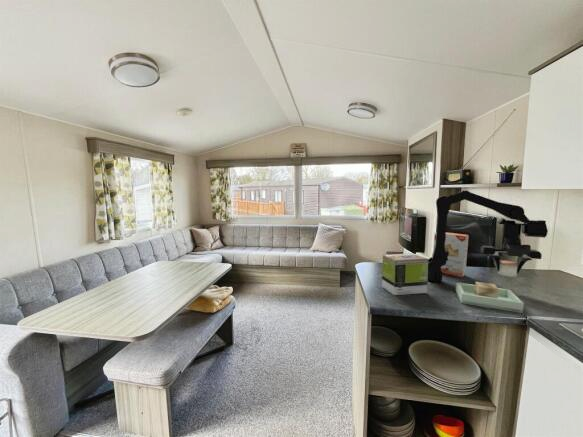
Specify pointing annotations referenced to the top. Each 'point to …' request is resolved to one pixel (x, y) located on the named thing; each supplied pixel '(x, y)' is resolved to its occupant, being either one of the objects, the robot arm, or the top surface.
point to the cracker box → (455, 254)
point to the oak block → (486, 290)
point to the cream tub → (508, 268)
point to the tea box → (405, 274)
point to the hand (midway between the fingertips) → (507, 271)
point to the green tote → (489, 298)
